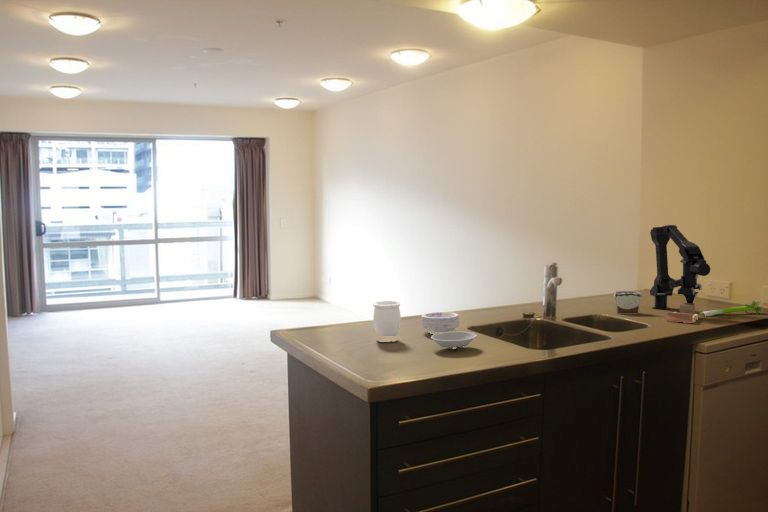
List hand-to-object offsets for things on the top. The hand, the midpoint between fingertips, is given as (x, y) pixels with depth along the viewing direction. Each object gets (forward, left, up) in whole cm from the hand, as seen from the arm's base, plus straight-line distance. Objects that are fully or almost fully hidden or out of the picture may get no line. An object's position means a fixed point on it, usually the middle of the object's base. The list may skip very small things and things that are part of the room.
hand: (689, 307), depth 275 cm
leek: (-15, +14, -5) cm, 21 cm away
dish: (+112, -54, -4) cm, 124 cm away
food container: (+6, -26, -4) cm, 27 cm away
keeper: (+3, 0, -4) cm, 5 cm away
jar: (+114, -83, -4) cm, 141 cm away
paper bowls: (+92, -73, -4) cm, 118 cm away
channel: (+11, 0, -4) cm, 12 cm away
